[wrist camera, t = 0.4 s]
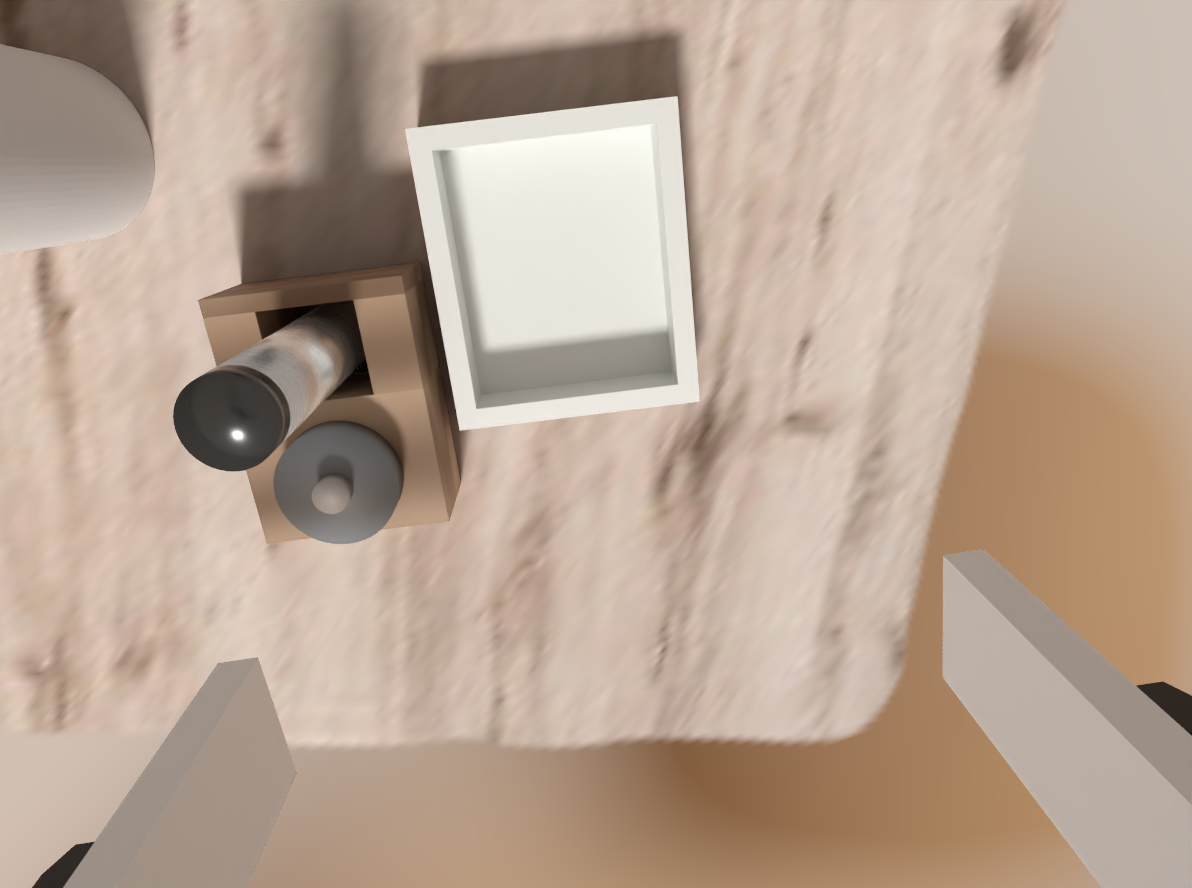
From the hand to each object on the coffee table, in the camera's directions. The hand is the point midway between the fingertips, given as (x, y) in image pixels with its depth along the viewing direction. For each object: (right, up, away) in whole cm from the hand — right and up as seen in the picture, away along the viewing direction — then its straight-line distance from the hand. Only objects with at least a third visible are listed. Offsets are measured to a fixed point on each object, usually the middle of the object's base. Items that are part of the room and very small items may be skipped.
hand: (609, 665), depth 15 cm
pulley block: (-13, +7, +26) cm, 30 cm away
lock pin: (-13, +10, +25) cm, 30 cm away
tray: (-2, +13, +25) cm, 28 cm away
